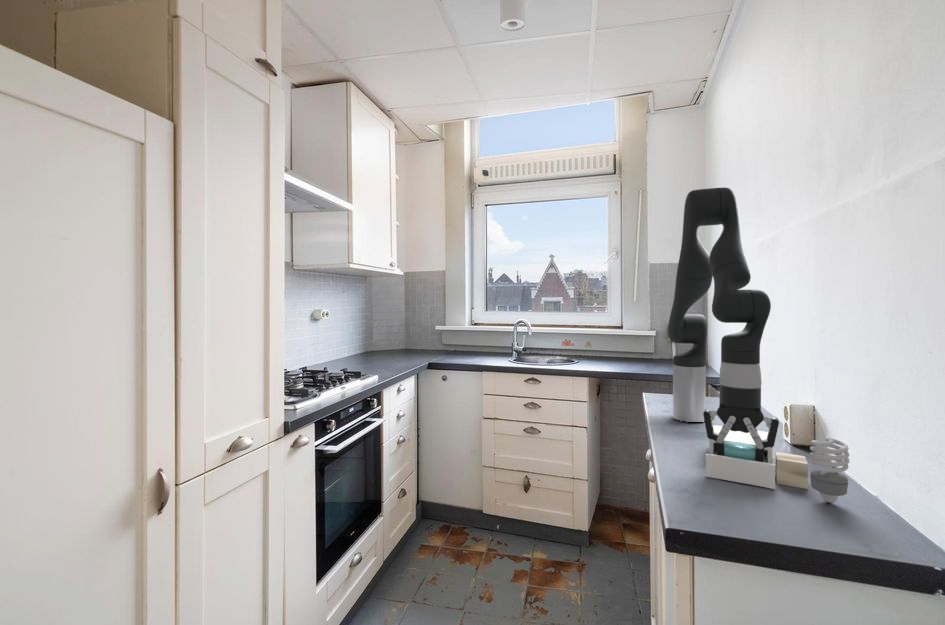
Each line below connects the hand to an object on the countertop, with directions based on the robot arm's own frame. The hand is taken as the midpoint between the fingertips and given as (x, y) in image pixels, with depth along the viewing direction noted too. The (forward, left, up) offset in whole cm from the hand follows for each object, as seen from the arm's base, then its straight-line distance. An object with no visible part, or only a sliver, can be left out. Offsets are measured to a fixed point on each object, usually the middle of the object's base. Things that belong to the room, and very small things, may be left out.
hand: (739, 461), depth 92 cm
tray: (-2, 0, -3) cm, 3 cm away
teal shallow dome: (0, 0, +1) cm, 1 cm away
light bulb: (+7, +14, -3) cm, 16 cm away
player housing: (-12, 0, -3) cm, 12 cm away
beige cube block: (-1, +9, -3) cm, 10 cm away
